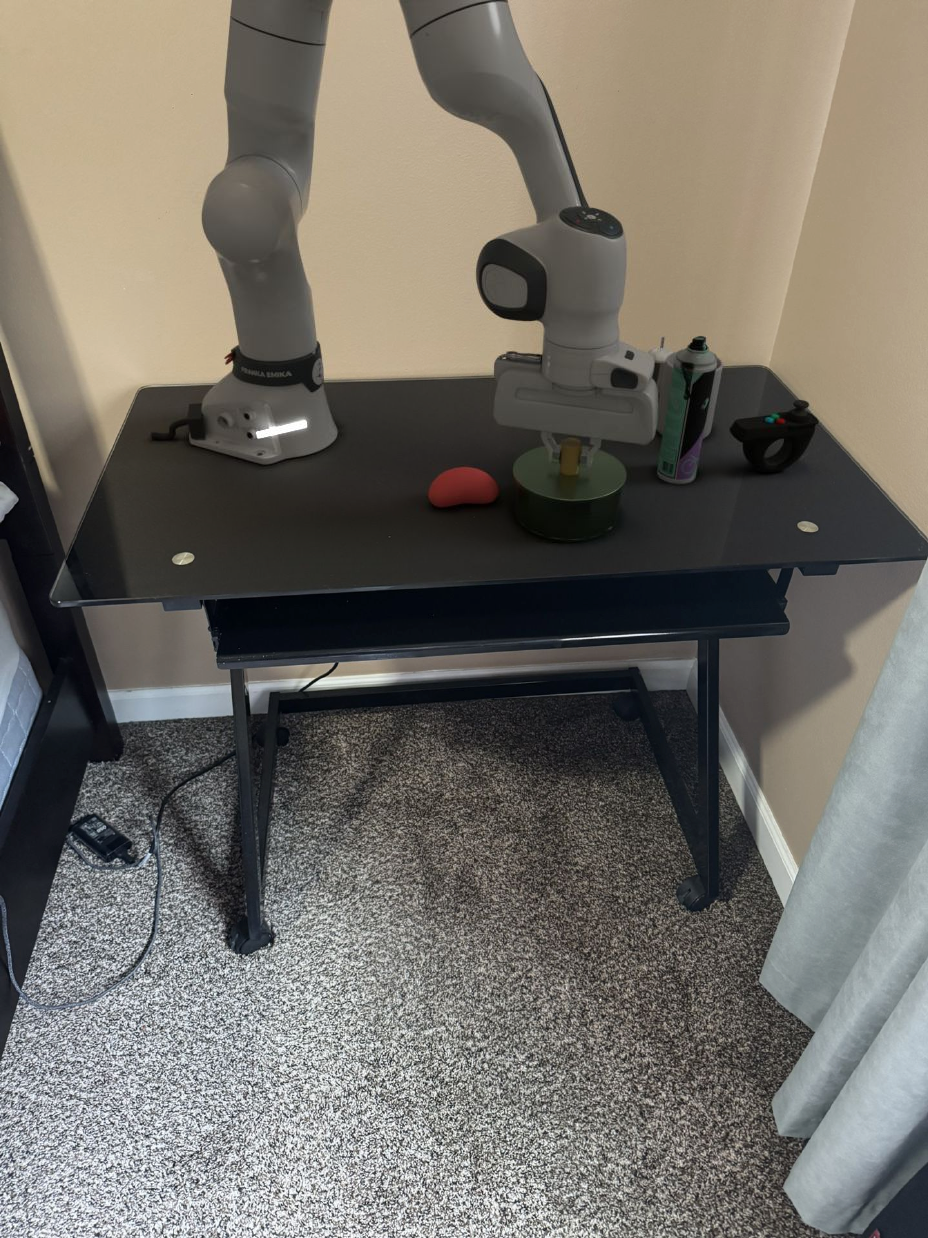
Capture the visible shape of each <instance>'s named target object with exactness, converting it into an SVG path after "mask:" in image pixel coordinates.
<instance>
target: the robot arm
mask: <svg viewBox="0 0 928 1238" xmlns="http://www.w3.org/2000/svg"><path fill="white" fill-rule="evenodd" d="M397 1H398V4H399V6H400V9H401V10H400V11H401V12H402V16H403V20H404V24H405V27H406V32H407V35H408V39H409V43H410V46H411V50H412V53H413V57H414V62H415V65H416V68H417V70H418V74H419V76H420V79H421V81H422V83H423V86H424V87H425V89H426V91H427V93H428V95H429V97H430V98H431V99H432V101H433V102H434V103H435V104H436V105H438V106H439V107H440V108H441V109H442V110H444V111H445V112H446V113H448V114H450V115H451V116H453V117H455V118H457V119H460V120H463V121H466V122H469V123H473V124H475V125H478V126H480V127H483V128H484V129H487V130H488V131H490V132H491V133H493V134H495V135H497V136H498V137H499V138H500V139H501V140H503V141H504V142H505V144H506V145H507V146H508V147H509V149H510V150H511V151H512V153H513V155H514V157H515V159H516V162H517V165H518V167H519V171H520V174H521V177H522V179H523V182H524V184H525V188H526V190H527V193H528V196H529V199H530V201H531V204H532V207H533V210H534V212H535V217H536V218H535V219H536V222H535V223H534V224H530V225H528V226H523V227H520V228H516V229H514V230H510V231H508V232H506V233H503V234H500V235H498V236H496V237H494V238H493V239H490V240H489V241H488V242H486V243H485V244H484V246H483V247H482V248H481V250H480V252H479V255H478V257H477V261H476V267H475V281H476V287H477V291H478V294H479V295H480V298H481V300H482V302H483V304H484V305H485V306H486V308H487V309H488V310H489V311H490V312H492V313H493V314H494V315H496V316H497V317H498V318H501V319H504V320H507V321H514V322H515V321H517V322H536V321H537V322H540V323H541V324H542V326H543V335H542V337H543V338H542V350H541V351H542V352H541V353H533V352H530V353H529V352H518V351H515V350H510V351H506V352H505V353H502V354H500V355H498V356H497V357H496V359H495V360H494V363H493V379H494V381H495V382H496V384H497V385H496V389H495V394H494V400H493V408H492V409H493V410H492V418H493V419H494V421H495V422H496V424H497V425H498V426H501V427H509V428H516V429H525V430H530V431H538V432H540V439H541V441H542V444H544V446H546V448H547V450H548V451H549V456H548V462H552V463H560V455H561V446H559V445H557V443H556V441H555V438H554V435H555V434H560V435H567V436H568V435H569V436H575V437H583V438H589V445H590V446H589V447H590V448H589V449H582V451H581V453H580V457H579V460H580V462H579V466H581V467H588V468H590V467H591V464H592V460H593V455H594V454H595V452H596V451H597V450H600V448H601V447H602V444H603V441H604V440H606V441H613V442H621V443H628V444H635V445H643V446H646V445H648V444H649V443H650V442H652V440H654V438H655V436H656V432H657V429H656V427H657V419H658V390H657V385H656V383H655V381H654V380H653V379H652V376H653V372H654V364H655V362H654V357H653V356H652V355H651V354H649V353H647V352H648V351H644V350H642V349H640V348H638V347H635V346H633V345H631V344H628V343H626V342H624V341H623V340H620V325H619V314H620V310H621V308H622V305H623V303H624V299H625V290H626V281H627V268H628V267H627V266H628V246H627V245H628V244H627V237H626V233H625V229H624V227H623V224H622V223H621V221H620V220H619V219H618V218H617V217H615V216H614V215H612V214H611V213H609V212H608V211H605V210H603V209H599V208H597V207H591V206H589V203H588V202H587V199H586V197H585V194H584V191H583V189H582V186H581V183H580V180H579V177H578V173H577V171H576V168H575V165H574V162H573V159H572V155H571V153H570V150H569V147H568V144H567V141H566V137H565V134H564V133H563V129H562V126H561V124H560V120H559V117H558V114H557V112H556V109H555V106H554V103H553V101H552V99H551V96H550V94H549V91H548V89H547V87H546V85H545V83H544V82H543V80H542V79H541V77H540V76H539V74H538V73H537V72H536V70H535V69H534V68H533V66H532V64H531V62H530V60H529V58H528V56H527V54H526V51H525V50H524V47H523V44H522V43H521V39H520V37H519V34H518V31H517V29H516V26H515V23H514V19H513V16H512V15H513V14H512V12H511V8H510V3H509V0H397ZM333 3H334V0H231V3H230V4H231V5H230V12H229V13H230V16H229V26H228V36H227V37H228V39H227V50H226V62H225V71H224V72H225V73H224V85H223V96H224V100H225V105H226V116H227V144H228V145H227V156H226V161H225V164H224V167H223V169H221V171H219V173H218V174H216V175H215V176H214V177H213V179H212V180H211V181H210V182H209V184H208V186H207V188H206V191H205V194H204V198H203V201H202V207H201V226H202V230H203V232H204V236H205V238H206V240H207V241H208V243H209V244H210V246H211V248H212V249H213V250H214V252H215V255H216V257H217V261H218V264H219V267H220V269H221V272H222V274H223V275H222V276H223V277H224V281H225V283H226V287H227V290H228V294H229V297H230V302H231V305H232V306H231V307H232V312H233V318H234V324H235V325H234V326H235V330H236V335H237V342H238V344H237V345H236V346H233V348H231V350H230V352H229V353H228V354H226V355H225V356H224V360H226V361H225V362H224V364H225V365H226V366H227V365H229V364H230V363H232V369H231V371H230V372H228V373H227V374H226V375H225V376H223V377H222V378H221V379H220V380H219V381H218V382H217V383H215V384H214V385H213V386H212V387H211V388H209V389H210V390H208V391H207V393H206V394H205V396H204V397H203V399H202V402H197V403H189V404H188V411H187V417H186V418H183V419H178V420H176V421H174V422H172V423H171V424H170V425H169V426H168V427H169V428H168V432H166V433H163V432H155V431H151V432H150V438H151V440H161V441H168V440H171V439H173V438H175V437H176V434H177V432H176V431H177V429H178V428H181V427H184V426H188V430H189V434H188V439H189V444H190V445H193V446H195V447H199V448H203V449H207V450H210V451H213V452H217V453H220V454H224V455H228V456H231V457H234V458H238V459H242V460H245V461H249V462H252V463H256V464H259V465H264V466H265V465H271V464H275V463H277V462H280V461H283V460H286V459H292V458H299V457H304V456H307V455H311V454H314V453H317V452H320V451H322V450H324V449H326V448H327V447H329V446H331V445H332V444H333V443H334V442H335V441H336V439H337V437H338V433H339V431H338V428H337V425H336V423H335V421H334V418H333V416H332V413H331V410H330V407H329V402H328V399H327V395H326V391H325V385H324V382H325V373H324V362H323V354H322V348H321V343H320V342H319V340H318V338H317V328H316V318H315V310H314V301H313V292H312V287H311V285H310V283H309V281H308V278H307V275H306V271H305V267H304V263H303V260H302V255H301V251H300V246H299V237H298V236H299V235H298V234H299V232H298V231H299V224H300V223H301V222H302V220H303V218H304V216H305V214H306V212H307V210H308V207H309V200H310V193H311V184H312V173H313V163H314V149H315V132H316V118H317V109H318V102H319V95H320V88H321V81H322V74H323V68H324V67H323V66H324V60H325V53H326V45H327V41H328V40H327V38H328V31H329V23H330V15H331V10H332V7H333Z"/></svg>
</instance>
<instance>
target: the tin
mask: <svg viewBox="0 0 928 1238" xmlns="http://www.w3.org/2000/svg"><path fill="white" fill-rule="evenodd" d="M622 490H623V488H622V489H621V490H620V491H619V492H618V493H616V494H615V495H613V496H611V497H609V498H607V499H604V500H601V501H597V502H592V503H585V504H564V503H556V502H551V501H547V500H543V499H540V498H537V497H535V496H533V495H531V494H529V493H527V492H525V491H524V490H523V489H521V488H520V487H519V486H518V485H517V483H516V482H515V487H514V491H515V492H514V515H515V518H516V521H517V523H518V524H519V525H520V527H522V528H523V529H524V530H525V531H527V532H529V533H530V534H532V535H533V536H535V537H539V538H541V539H544V540H547V541H553V542H557V543H584V542H589V541H593V540H597V539H600V538H602V537H603V536H606V535H607V534H609V533H610V532H611V531H612V530H613V529H614V528H615V527H616V524H617V522H618V517H619V514H620V506H621V498H622V492H623V491H622Z"/></svg>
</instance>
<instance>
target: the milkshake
mask: <svg viewBox="0 0 928 1238" xmlns="http://www.w3.org/2000/svg"><path fill="white" fill-rule="evenodd" d="M664 345H665V336H661V340H660V347H654V348H651V349H649V350H648V351H646V352H647V353H649V354H651V355H652V356H653V357H654V362H655V364H654V372H653V376H652V379H653V380H654V381H655V383H656V385H657V390H658V405H659V398H660V392H661V385H662V378H663V372H664V365H665V360H666V358H667V356H668V355H670V354H672V353H675V352H674V351H673V350H672V349H670V348H664Z"/></svg>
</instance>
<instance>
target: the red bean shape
mask: <svg viewBox="0 0 928 1238" xmlns="http://www.w3.org/2000/svg"><path fill="white" fill-rule="evenodd" d="M499 491H500V490H499V487H498V484H497V482H496V481H495V479H494V478H493V477H492V476H491V475H490V474H488V473H487V472H486V471H484V470H481V469H479V468H476V467H471V466H461V467H460V466H459V467H454V468H451V469H448V470H445V471H443V472H442V473H440V474H439V475H438V476H437V477H436V478H435V479H434V480H433V481H432V483H431V484H430V487H429V489H428V495H427V497H428V500H429V502H430V503H431V504H432V505H433V506H435V507H437V508H447V507H453V506H457V505H461V504H481V505H482V504H484V505H485V504H490V503H493V502H494V501H495V500H496V499H497V498H498V496H499Z"/></svg>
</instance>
